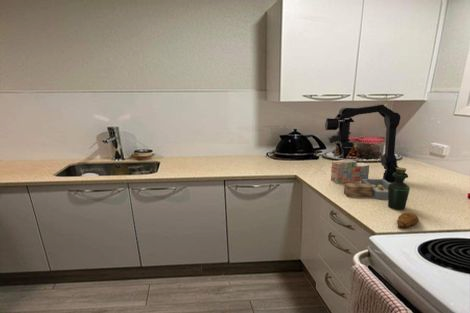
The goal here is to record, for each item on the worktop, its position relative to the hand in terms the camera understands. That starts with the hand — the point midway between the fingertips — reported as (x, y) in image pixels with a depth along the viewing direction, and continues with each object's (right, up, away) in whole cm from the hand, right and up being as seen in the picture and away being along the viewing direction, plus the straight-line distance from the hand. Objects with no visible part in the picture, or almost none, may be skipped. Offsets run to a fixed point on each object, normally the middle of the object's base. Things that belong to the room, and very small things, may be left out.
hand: (342, 156), depth 150 cm
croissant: (+5, -26, -50) cm, 56 cm away
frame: (+13, -18, -15) cm, 27 cm away
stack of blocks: (+6, -14, +3) cm, 16 cm away
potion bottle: (+10, -23, -34) cm, 42 cm away
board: (0, -20, -19) cm, 28 cm away
